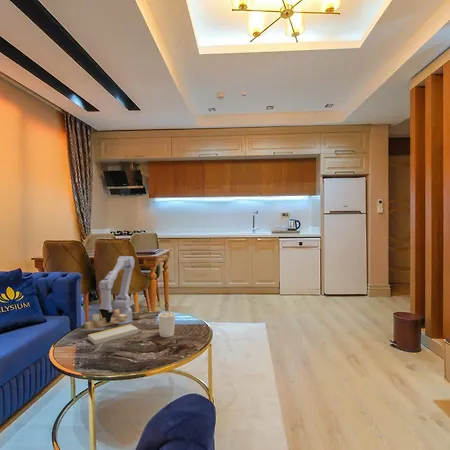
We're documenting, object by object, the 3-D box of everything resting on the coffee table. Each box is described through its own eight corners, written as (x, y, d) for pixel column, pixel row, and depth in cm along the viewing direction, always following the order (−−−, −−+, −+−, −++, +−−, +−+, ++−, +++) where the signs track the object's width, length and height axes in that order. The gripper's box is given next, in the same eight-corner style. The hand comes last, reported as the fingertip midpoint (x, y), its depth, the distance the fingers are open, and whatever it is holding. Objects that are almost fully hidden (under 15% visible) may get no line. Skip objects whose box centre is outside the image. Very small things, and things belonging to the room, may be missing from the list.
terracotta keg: (117, 315, 202) (117, 308, 202) (120, 316, 199) (120, 310, 199) (111, 316, 199) (111, 310, 199) (114, 317, 196) (114, 311, 196)
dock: (130, 328, 200) (130, 323, 200) (138, 332, 191) (138, 328, 191) (87, 338, 182) (87, 334, 182) (94, 344, 174) (94, 339, 174)
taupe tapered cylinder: (98, 319, 194) (98, 312, 194) (100, 320, 191) (100, 314, 191) (91, 320, 191) (91, 314, 191) (94, 322, 188) (94, 315, 188)
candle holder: (177, 331, 192) (176, 312, 192) (172, 337, 182) (172, 317, 182) (161, 331, 193) (161, 311, 193) (156, 337, 183) (155, 317, 183)
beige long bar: (123, 319, 205) (123, 313, 205) (126, 320, 201) (126, 315, 201) (85, 327, 189) (84, 322, 189) (87, 329, 185) (87, 324, 185)
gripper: (95, 298, 197) (95, 320, 198) (103, 303, 187) (104, 325, 187) (106, 296, 202) (107, 317, 202) (115, 300, 191) (116, 323, 192)
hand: (106, 321), depth 195 cm, fingers closed on beige long bar, 5 cm apart
